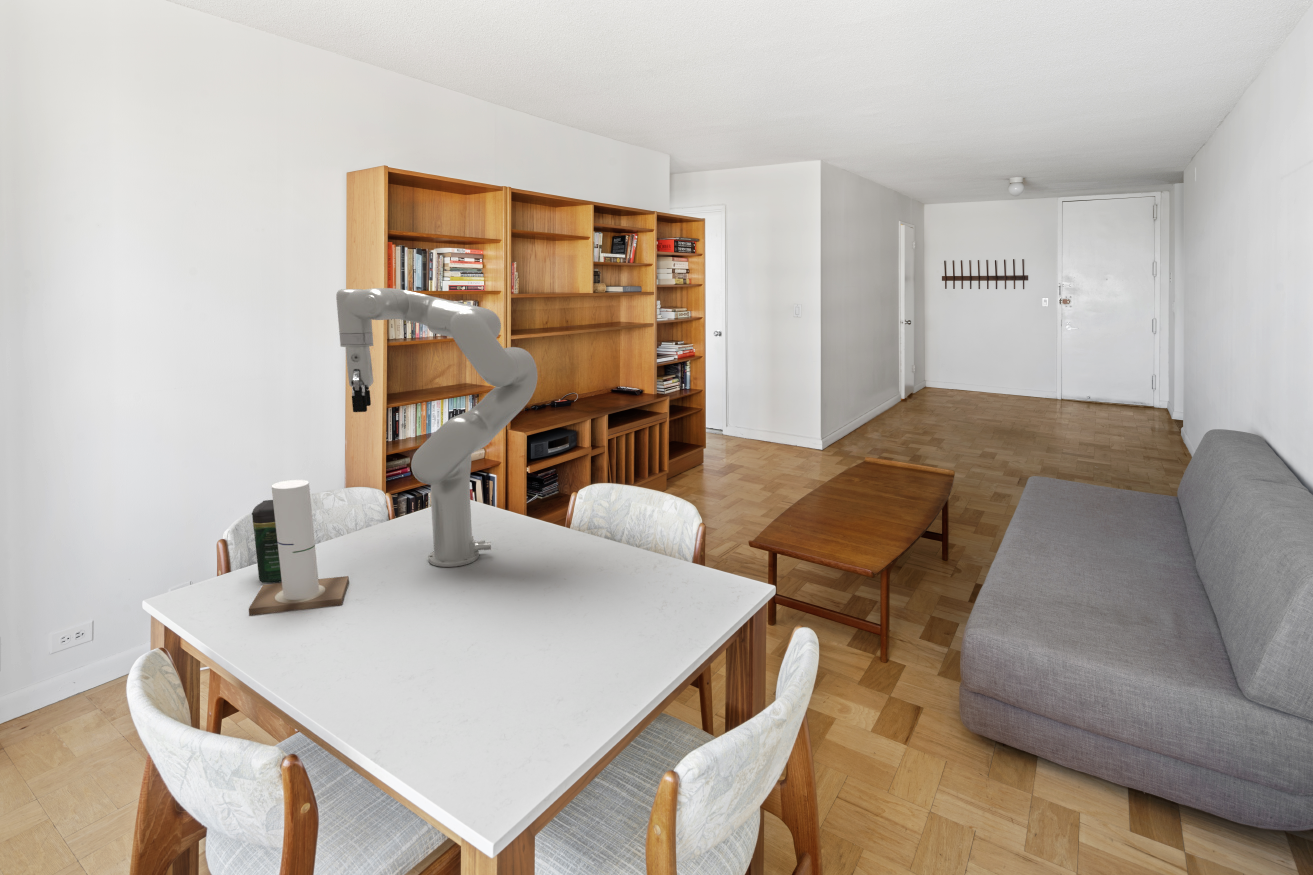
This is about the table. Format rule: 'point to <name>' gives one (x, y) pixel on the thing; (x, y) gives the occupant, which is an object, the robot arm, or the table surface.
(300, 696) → the table surface
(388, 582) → the table surface
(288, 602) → the walnut board
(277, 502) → the cylindrical container
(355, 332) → the robot arm
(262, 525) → the coffee jar
